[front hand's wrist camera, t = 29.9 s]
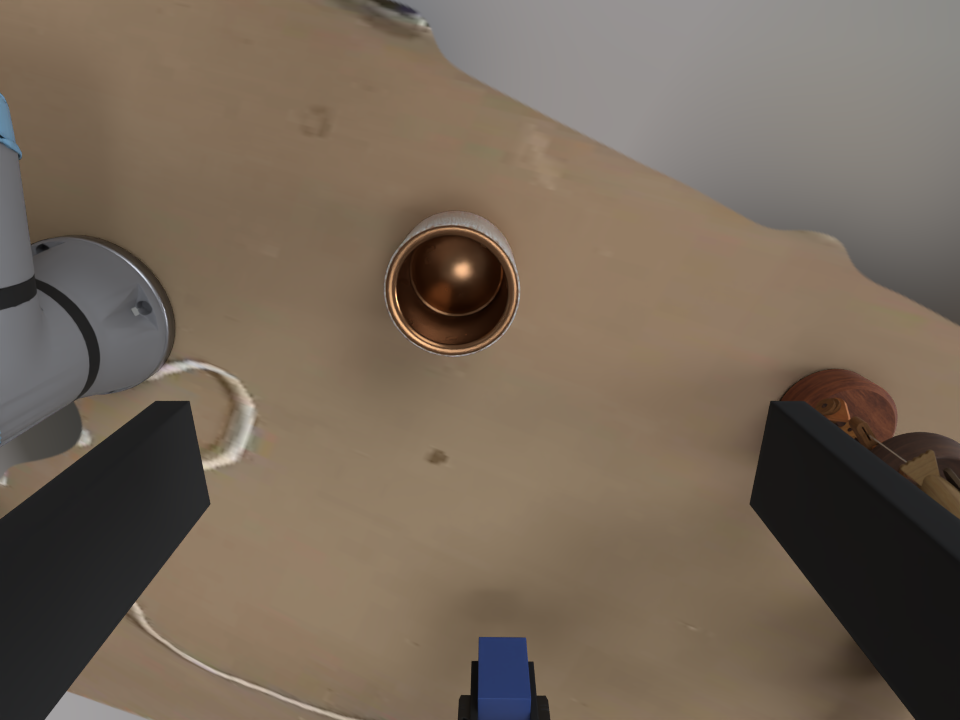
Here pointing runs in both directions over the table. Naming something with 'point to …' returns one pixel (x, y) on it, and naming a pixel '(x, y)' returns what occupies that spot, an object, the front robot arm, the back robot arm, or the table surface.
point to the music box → (884, 431)
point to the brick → (503, 679)
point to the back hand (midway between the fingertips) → (502, 671)
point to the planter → (452, 284)
